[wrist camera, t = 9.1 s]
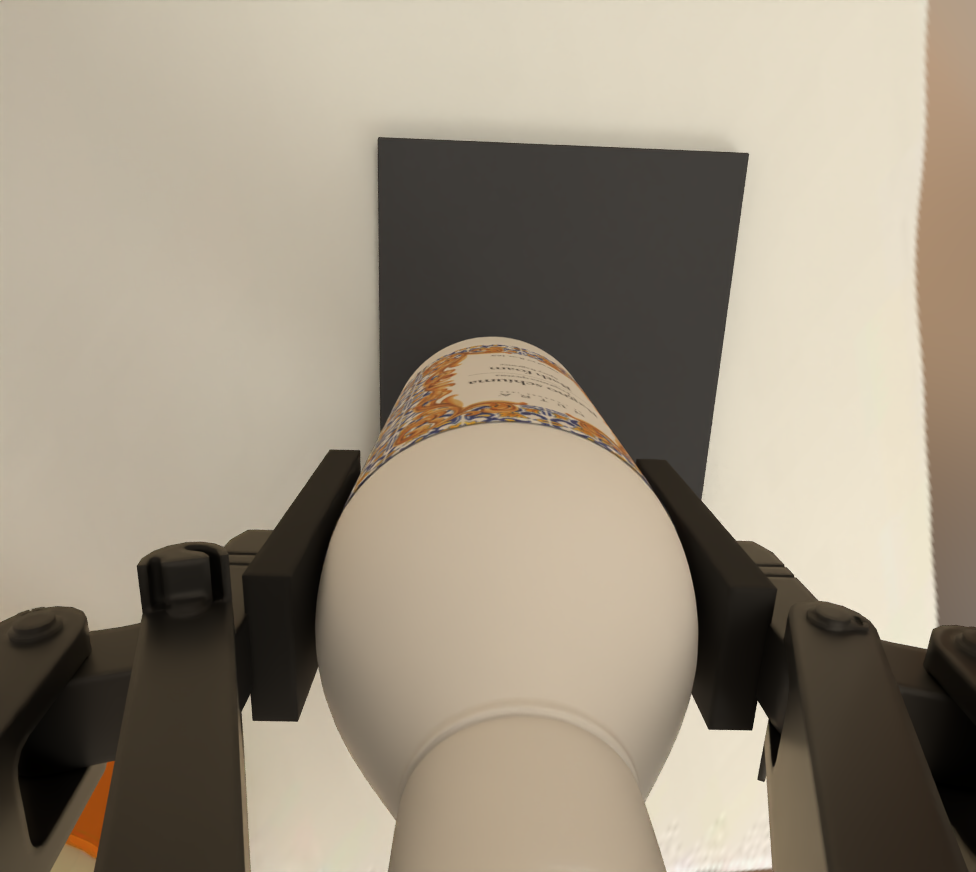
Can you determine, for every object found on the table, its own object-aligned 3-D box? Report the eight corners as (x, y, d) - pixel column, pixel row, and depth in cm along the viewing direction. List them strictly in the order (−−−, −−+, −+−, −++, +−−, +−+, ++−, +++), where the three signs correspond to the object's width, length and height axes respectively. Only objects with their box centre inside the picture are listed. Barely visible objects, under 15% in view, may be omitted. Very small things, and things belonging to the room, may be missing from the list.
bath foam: (614, 364, 23) (1279, 961, 4) (554, 539, 25) (811, 1524, 6) (421, 309, 22) (102, 707, 3) (374, 493, 24) (-3, 1431, 5)
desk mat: (380, 140, 25) (377, 136, 25) (741, 155, 26) (749, 152, 25) (384, 602, 31) (382, 612, 30) (680, 609, 31) (685, 619, 31)
